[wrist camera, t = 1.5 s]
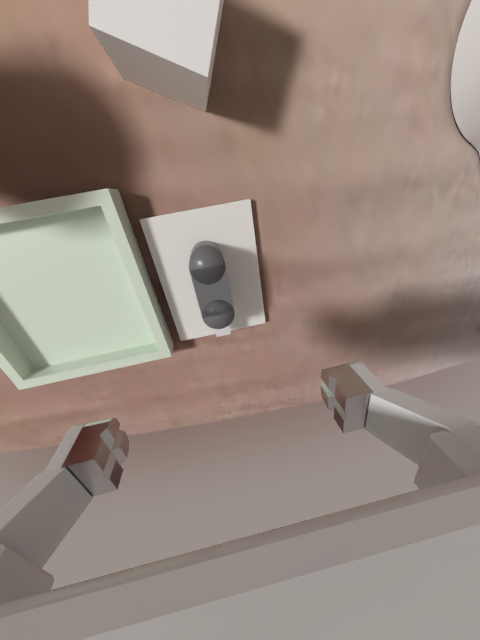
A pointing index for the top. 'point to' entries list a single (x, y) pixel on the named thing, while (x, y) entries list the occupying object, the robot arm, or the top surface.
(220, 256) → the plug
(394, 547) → the robot arm
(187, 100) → the white cube
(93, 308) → the tray
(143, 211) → the top surface
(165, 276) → the mat
